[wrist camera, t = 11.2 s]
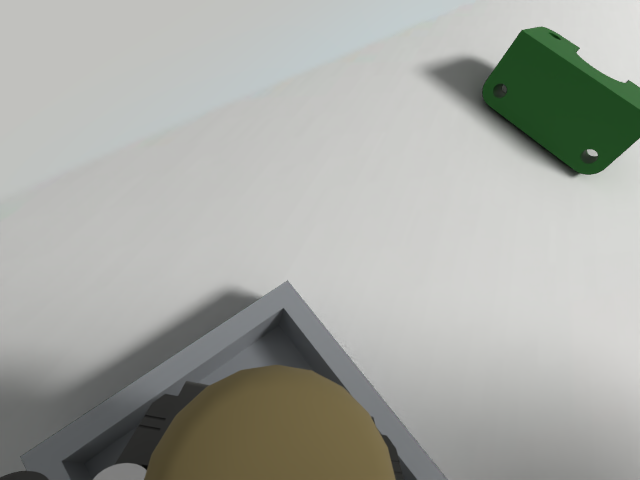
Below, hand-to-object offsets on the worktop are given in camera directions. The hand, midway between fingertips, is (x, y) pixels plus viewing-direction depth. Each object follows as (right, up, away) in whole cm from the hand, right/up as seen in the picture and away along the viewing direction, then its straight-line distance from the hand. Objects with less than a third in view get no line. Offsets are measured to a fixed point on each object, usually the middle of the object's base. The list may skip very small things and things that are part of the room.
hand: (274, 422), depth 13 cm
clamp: (+21, +16, +21) cm, 34 cm away
